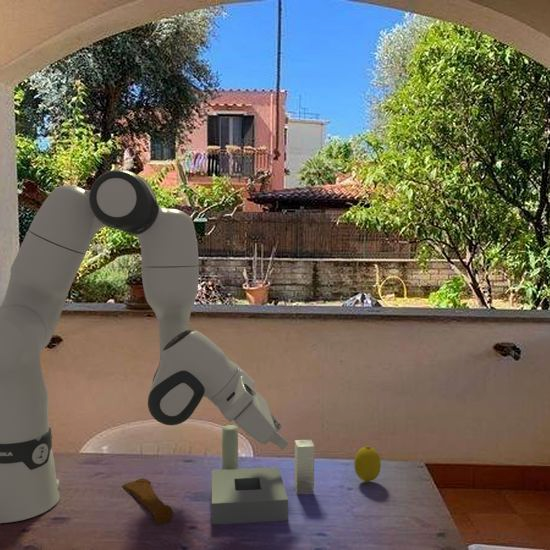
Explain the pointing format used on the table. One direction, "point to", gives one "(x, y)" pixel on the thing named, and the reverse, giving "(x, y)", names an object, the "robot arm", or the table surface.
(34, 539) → the table surface
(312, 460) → the square bit
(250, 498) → the socket block
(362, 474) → the lemon
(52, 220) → the robot arm
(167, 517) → the primitive tool
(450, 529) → the table surface
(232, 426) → the round bit
